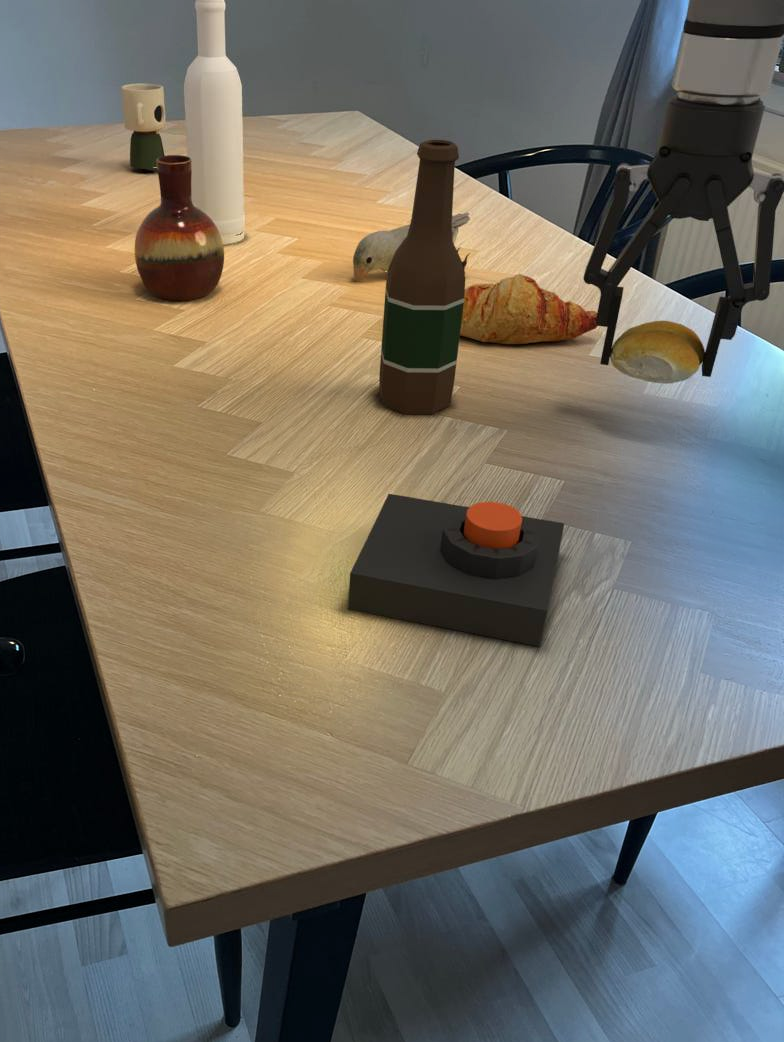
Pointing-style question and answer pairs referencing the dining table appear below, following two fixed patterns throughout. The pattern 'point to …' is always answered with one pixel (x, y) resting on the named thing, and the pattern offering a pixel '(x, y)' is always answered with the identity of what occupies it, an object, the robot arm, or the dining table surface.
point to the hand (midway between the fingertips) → (655, 365)
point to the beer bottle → (424, 295)
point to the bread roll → (658, 352)
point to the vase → (178, 239)
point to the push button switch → (455, 572)
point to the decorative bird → (390, 247)
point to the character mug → (144, 123)
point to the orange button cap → (492, 525)
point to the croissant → (521, 313)
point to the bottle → (215, 125)
